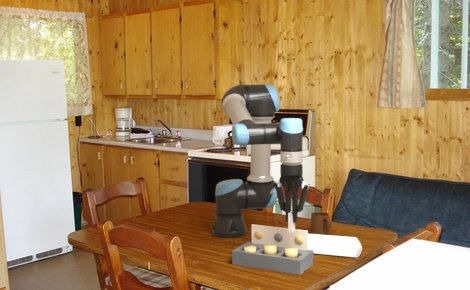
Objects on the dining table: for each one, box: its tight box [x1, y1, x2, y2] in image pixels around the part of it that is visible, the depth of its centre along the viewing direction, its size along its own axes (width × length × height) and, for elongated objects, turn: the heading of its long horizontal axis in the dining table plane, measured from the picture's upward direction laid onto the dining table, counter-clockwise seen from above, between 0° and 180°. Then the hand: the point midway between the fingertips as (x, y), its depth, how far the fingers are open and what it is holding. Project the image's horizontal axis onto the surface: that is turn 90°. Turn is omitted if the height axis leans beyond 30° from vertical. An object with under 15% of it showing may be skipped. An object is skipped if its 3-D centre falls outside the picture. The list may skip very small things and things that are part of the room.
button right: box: [285, 247, 298, 258], centre depth 187 cm, size 4×4×4 cm
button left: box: [244, 245, 256, 252], centre depth 194 cm, size 4×4×4 cm
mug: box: [310, 211, 332, 235], centre depth 228 cm, size 12×8×9 cm, turn 21°
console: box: [231, 223, 314, 276], centre depth 192 cm, size 26×13×12 cm, turn 62°
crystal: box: [308, 233, 363, 258], centre depth 204 cm, size 7×7×24 cm
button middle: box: [264, 244, 277, 255], centre depth 190 cm, size 4×4×4 cm
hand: (291, 231), depth 186 cm, fingers closed
